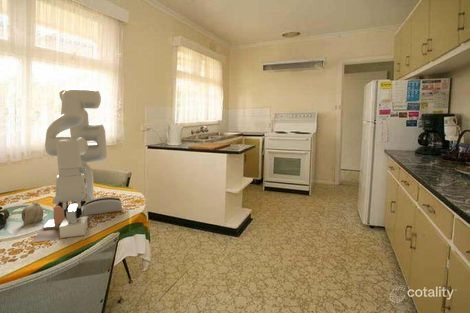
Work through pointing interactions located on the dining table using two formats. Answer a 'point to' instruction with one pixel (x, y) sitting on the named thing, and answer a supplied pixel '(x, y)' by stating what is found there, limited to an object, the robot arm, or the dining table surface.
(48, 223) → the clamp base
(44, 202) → the dining table surface
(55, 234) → the grey flat plate
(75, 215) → the steel key
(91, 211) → the grey arched block
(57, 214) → the block
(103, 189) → the dining table surface
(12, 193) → the dining table surface
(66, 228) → the white holed block
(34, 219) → the grey rounded lump
